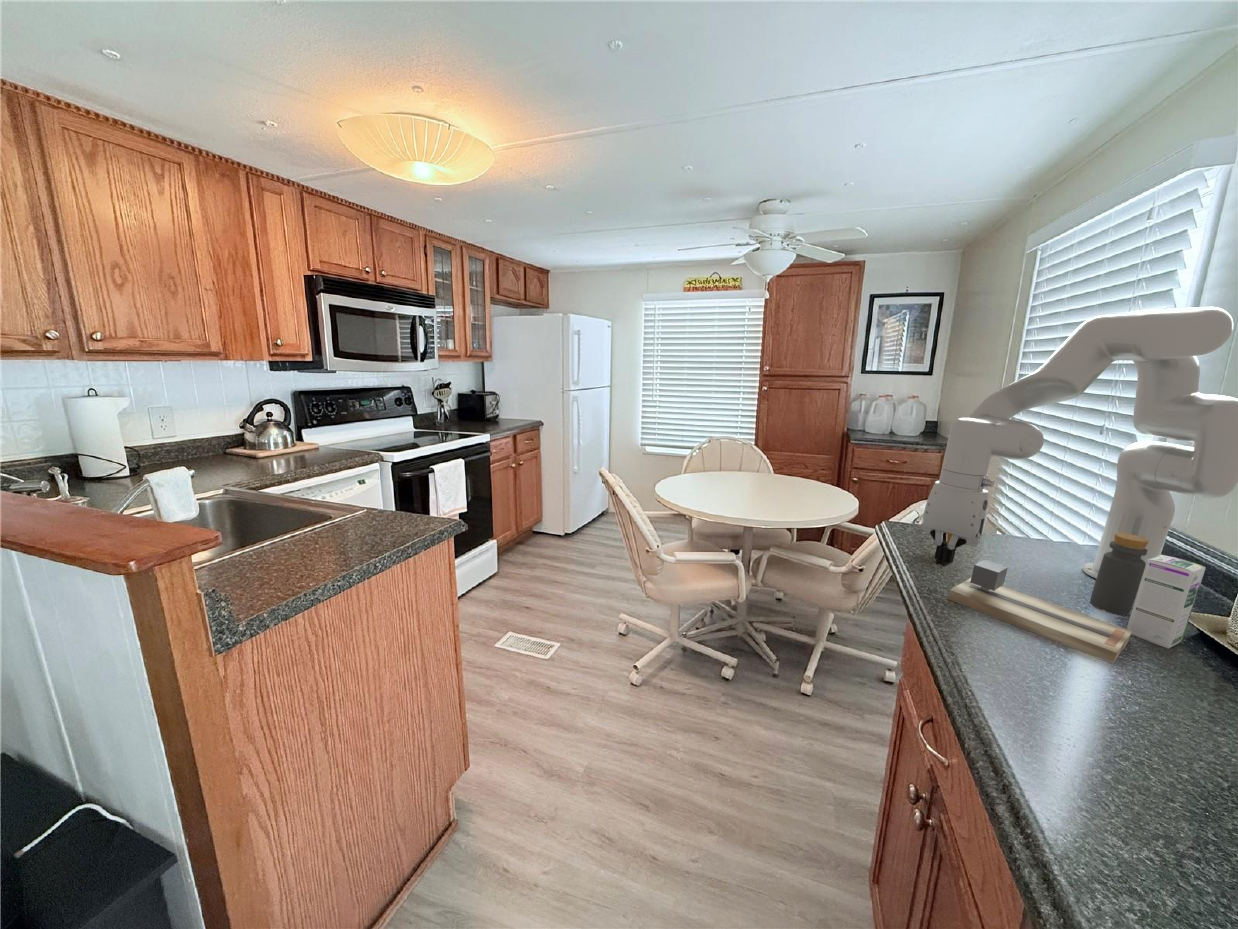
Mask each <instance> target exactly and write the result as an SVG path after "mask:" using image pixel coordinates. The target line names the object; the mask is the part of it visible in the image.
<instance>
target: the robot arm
mask: <svg viewBox="0 0 1238 929" xmlns="http://www.w3.org/2000/svg"><path fill="white" fill-rule="evenodd" d="M1233 330H1234V321H1233V317H1232V315H1231V314H1230V313H1229V312H1227V311H1226V310H1224V309H1223V308H1221V307H1215V306H1200V307H1199V306H1198V307H1182V308H1157V309H1142V310H1135V311H1130V312H1126V313H1117V314H1105V315H1097V316H1093V317H1091V318H1089V319H1087V320H1085V321H1084V322H1082V323H1081V324H1080V325H1079V326H1077V328H1076V329H1074V331H1073V332H1072V333H1071V334H1070V335H1069V336H1068V337H1067V338H1066V340H1065V341H1063V342H1062V344H1061V345H1060V346H1059V347H1058V348H1057V349H1056V350H1055V351H1054V352H1053V353H1052V354H1051V356H1049V358H1048V359H1046V360H1045V361H1044V363H1043V364H1042V365H1040V367H1039V368H1038V369H1036V370H1035V371H1034V372H1033V373H1030V374H1028V375H1026V376H1024V377H1021V378H1019V379H1017V380H1016V381H1014V382H1012V383H1010V384H1008V385H1006V386H1004V387H1002V388H1000V389H998V390H996V391H995V392H993V393H992V394H989V396H987V397H986V398H985V399H984V400H983V401H982V402H981V403H979V405H978V406H977V407H976V408H975V409H974V410H973V411H972V412H971V413H970V414H969V416H968V417H959V418H956V419H954V420H953V421H952V422H951V426H950V430H949V433H948V438H947V442H946V447H945V452H944V457H943V461H942V466H941V471H940V476H939V480H936V481H935V483H934V484H933V486H932V488H931V491H930V493H929V495H928V496H927V497H928V498H927V500H926V503H925V507H924V510H923V514H922V519H921V520H922V523H921V524H920V529H921V530H922V531H924V532H925V533H927V534H930V536H931V537H932V539H933V540H934V543H935V545H936V548H935V553H934V559H935V564H936V565H940V566H941V567H947V566H950V564H953V562H954V559H955V555H956V551H957V548H959V547H961V546H971V547H977V546H979V545H980V544H981V536H983V534H984V532H985V528H986V525H987V519H988V518H987V516H988V507H989V490H987V489H985V488H988V487H989V488H993V486H994V484H995V481H994V480H992V479H990V478H989V477H988V476H989V475H988V473H989V472H988V471H989V467H990V464H991V458H992V457H993V458H994V457H997V458H1002V459H1008V460H1014V461H1021V460H1026V459H1029V458H1032V457H1033V456H1036V455H1037V454H1038V453H1039V452H1040V451H1041V450H1042V448H1043V446H1044V443H1045V439H1044V434H1043V432H1042V431H1041V429H1039V428H1038V427H1037V426H1036V425H1033V424H1032V423H1030V422H1029V423H1028V422H1025V421H1022V420H1021V421H1020V420H1016V419H1011V418H1013V417H1015V416H1016V415H1018V414H1021V413H1023V412H1024V411H1027V410H1031V409H1034V408H1038V407H1042V406H1043V407H1044V406H1048V405H1052V404H1054V405H1055V404H1059V403H1062V402H1065V401H1069V400H1072V399H1076V398H1078V397H1079V396H1081V395H1083V394H1084V393H1085V391H1086V390H1087V389H1088V388H1089V387H1090V386H1092V384H1093V383H1094V382H1095V381H1096V380H1097V379H1098V378H1099V377H1100V376H1101V375H1102V373H1104V371H1106V369H1108V368H1109V366H1110V365H1112V363H1114V362H1116V361H1132V362H1133V363H1134V365H1135V367H1136V370H1137V371H1136V372H1137V382H1136V391H1135V399H1134V405H1133V406H1134V407H1133V416H1132V418H1133V420H1132V421H1133V423H1132V424H1133V427H1134V429H1135V430H1136V431H1137V432H1139V433H1141V434H1143V435H1147V436H1151V437H1156V438H1163V439H1169V440H1173V441H1181V442H1188V443H1192V444H1193V446H1188V445H1184V444H1177V443H1170V442H1165V441H1157V440H1141V441H1137V442H1136V441H1135V442H1133V443H1131V444H1129V445H1127V446H1125V447H1124V448H1123V449H1122V450H1121V452H1120V454H1119V456H1118V459H1117V463H1116V486H1115V489H1114V494H1113V498H1112V502H1111V505H1110V508H1109V512H1108V515H1107V518H1106V522H1105V525H1104V528H1103V532H1102V534H1101V539H1100V541H1099V545H1098V548H1097V550H1096V555H1095V558H1094V562H1087V563H1084V564H1083V565H1082V571H1083V572H1084V573H1085V574H1086V575H1087V576H1090V577H1092V578H1094V579H1095V580H1096V578H1097V575H1098V572H1099V569H1100V565H1101V562H1102V559H1103V556H1104V554H1105V553H1107V552H1112V548H1110V546H1109V545H1110V542H1111V541H1114V534H1115V533H1126V534H1131V535H1136V536H1139V537H1142V538H1145V539H1147V540H1148V541H1149V543H1148V544H1147V546H1146V547H1145V549H1147V554H1146V555H1144V556H1141V559H1142V560H1143V561H1144V562H1145V563H1147V560H1148V559H1151V558H1153V557H1157V556H1159V555H1161V554H1162V552H1163V549H1164V546H1165V543H1166V540H1167V537H1168V533H1169V530H1170V528H1171V525H1172V522H1173V520H1174V517H1175V513H1176V512H1175V511H1176V509H1175V508H1176V507H1175V506H1176V504H1175V501H1174V499H1173V497H1172V494H1171V492H1173V493H1174V492H1175V493H1178V494H1183V495H1187V496H1191V497H1196V498H1201V499H1207V500H1208V499H1213V500H1214V499H1219V498H1223V497H1225V496H1226V495H1229V494H1230V493H1232V492H1233V490H1234V489H1235V487H1236V486H1237V484H1238V398H1236V397H1233V396H1230V395H1229V396H1228V395H1220V394H1210V393H1209V394H1207V393H1201V392H1200V390H1199V386H1200V375H1201V365H1200V361H1199V360H1198V359H1199V358H1198V356H1203V355H1208V354H1210V353H1212V352H1214V351H1217V350H1218V349H1219V348H1220V347H1223V345H1224V344H1226V342H1227V341H1228V340H1229V339H1230V337H1231V336H1232V333H1233ZM947 534H950V535H952V537H951V539H950V541H949V544H947ZM1139 586H1140V585H1139ZM1138 589H1139V588H1138Z"/></svg>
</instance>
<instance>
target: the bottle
mask: <svg viewBox="0 0 1238 929" xmlns="http://www.w3.org/2000/svg"><path fill="white" fill-rule="evenodd" d="M1148 543H1149V541H1148V540H1147V539H1145V538H1142V537H1139V536H1136V535H1131V534H1126V533H1115V534H1114V541H1111V542H1110V545H1109V546H1110V548H1112V552H1107V553H1105V554H1104V556H1103V559H1102V562H1101V565H1100V569H1099V572H1098V575H1097V578H1096V579H1095V582H1094V584H1093V589H1092V593H1091V596H1090V599H1089V603H1090V604H1091V605H1092V606H1094V607H1095V608H1096V609H1099V610H1102V611H1104V612H1108V613H1111V614H1115V615H1119V616H1120V615H1121V616H1128V615H1131V612H1132V609H1133V605H1134V602H1135V599H1136V595H1137V592H1138V588H1139V585H1140V582H1141V579H1142V576H1143V573H1144V569H1145V566H1146V563H1145V562H1144V561H1143V560H1142V559H1141V556H1144V555H1146V554H1147V549H1145V547H1146V546H1147V544H1148Z"/></svg>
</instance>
